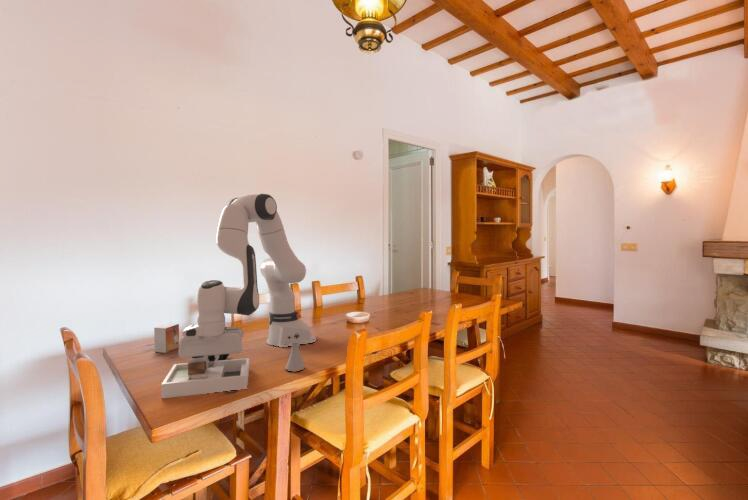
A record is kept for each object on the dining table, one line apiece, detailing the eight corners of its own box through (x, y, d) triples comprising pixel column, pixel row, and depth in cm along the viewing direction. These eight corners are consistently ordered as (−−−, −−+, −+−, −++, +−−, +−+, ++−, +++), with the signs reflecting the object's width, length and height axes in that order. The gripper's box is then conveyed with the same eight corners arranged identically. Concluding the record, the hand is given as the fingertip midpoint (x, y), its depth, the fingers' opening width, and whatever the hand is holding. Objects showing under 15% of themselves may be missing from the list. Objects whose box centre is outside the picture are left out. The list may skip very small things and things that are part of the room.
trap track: (249, 369, 135) (249, 358, 135) (247, 389, 119) (247, 376, 119) (174, 376, 128) (174, 364, 128) (161, 398, 112) (161, 384, 111)
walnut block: (206, 368, 128) (206, 357, 128) (204, 373, 124) (204, 362, 123) (190, 369, 127) (190, 358, 127) (188, 375, 122) (187, 363, 122)
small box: (165, 353, 151) (165, 328, 150) (154, 352, 152) (153, 327, 151) (179, 347, 159) (179, 323, 158) (168, 346, 160) (168, 322, 159)
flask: (295, 374, 132) (295, 347, 131) (281, 370, 135) (281, 344, 135) (308, 368, 138) (309, 342, 137) (294, 364, 142) (295, 339, 141)
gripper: (243, 323, 132) (243, 361, 132) (181, 327, 125) (181, 366, 126) (243, 328, 126) (242, 367, 126) (177, 332, 119) (177, 373, 120)
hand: (211, 367), depth 126 cm, fingers closed
